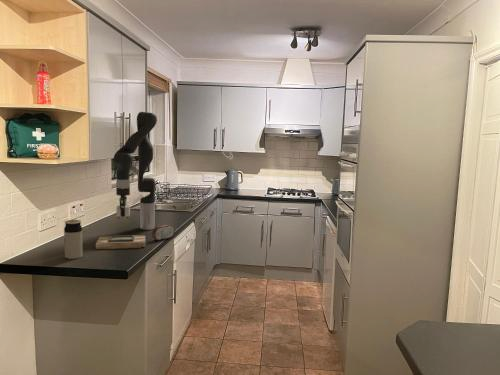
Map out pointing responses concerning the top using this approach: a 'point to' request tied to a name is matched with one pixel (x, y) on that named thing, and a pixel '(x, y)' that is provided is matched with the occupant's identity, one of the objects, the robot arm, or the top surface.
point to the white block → (127, 211)
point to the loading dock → (120, 242)
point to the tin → (163, 232)
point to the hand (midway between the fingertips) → (123, 215)
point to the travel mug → (73, 239)
